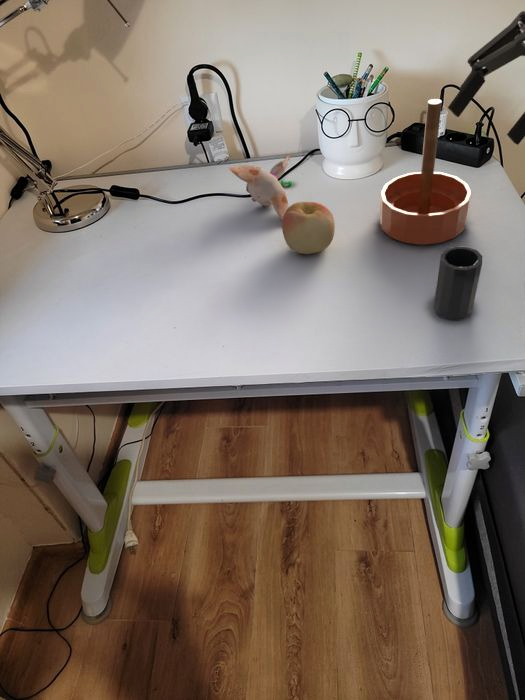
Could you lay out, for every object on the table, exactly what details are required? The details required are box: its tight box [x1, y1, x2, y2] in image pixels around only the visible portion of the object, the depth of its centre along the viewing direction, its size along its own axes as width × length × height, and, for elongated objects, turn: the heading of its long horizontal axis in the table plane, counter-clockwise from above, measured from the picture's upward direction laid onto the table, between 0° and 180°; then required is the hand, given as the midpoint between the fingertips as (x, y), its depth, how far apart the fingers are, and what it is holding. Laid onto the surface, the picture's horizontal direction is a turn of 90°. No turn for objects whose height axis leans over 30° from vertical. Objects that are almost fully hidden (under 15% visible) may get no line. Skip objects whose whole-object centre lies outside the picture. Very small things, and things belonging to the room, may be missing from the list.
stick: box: [417, 98, 443, 214], centre depth 82 cm, size 2×2×20 cm
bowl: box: [379, 171, 473, 246], centre depth 87 cm, size 14×14×6 cm
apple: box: [281, 201, 336, 255], centre depth 86 cm, size 9×9×8 cm
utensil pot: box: [433, 245, 483, 322], centre depth 70 cm, size 5×5×9 cm
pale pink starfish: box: [228, 155, 293, 221], centre depth 99 cm, size 15×8×15 cm
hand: (480, 125), depth 81 cm, fingers open, 13 cm apart
